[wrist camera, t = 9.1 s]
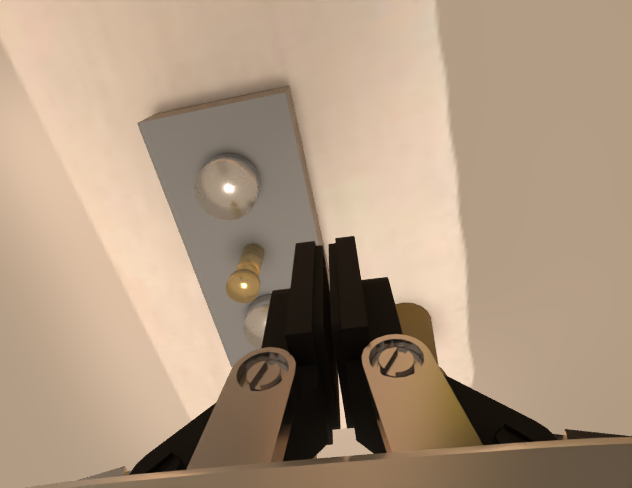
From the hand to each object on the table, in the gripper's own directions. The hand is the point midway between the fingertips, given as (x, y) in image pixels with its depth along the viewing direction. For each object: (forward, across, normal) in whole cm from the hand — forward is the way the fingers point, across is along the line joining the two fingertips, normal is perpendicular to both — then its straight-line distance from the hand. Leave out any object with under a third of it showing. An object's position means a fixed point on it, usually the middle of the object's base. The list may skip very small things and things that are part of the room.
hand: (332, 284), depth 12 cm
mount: (+27, +8, +11) cm, 30 cm away
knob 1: (+27, +8, +4) cm, 28 cm away
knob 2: (+27, +8, +18) cm, 33 cm away
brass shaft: (+23, +8, +11) cm, 27 cm away
